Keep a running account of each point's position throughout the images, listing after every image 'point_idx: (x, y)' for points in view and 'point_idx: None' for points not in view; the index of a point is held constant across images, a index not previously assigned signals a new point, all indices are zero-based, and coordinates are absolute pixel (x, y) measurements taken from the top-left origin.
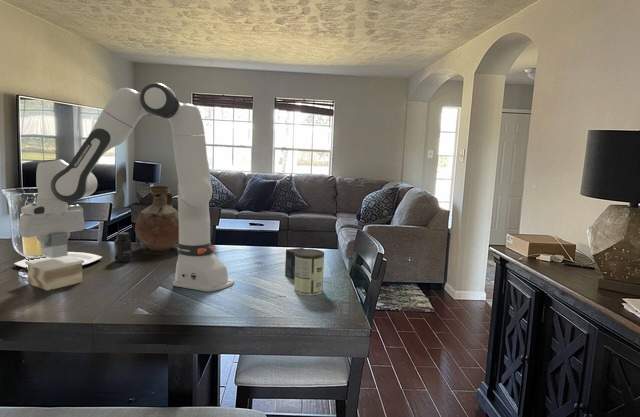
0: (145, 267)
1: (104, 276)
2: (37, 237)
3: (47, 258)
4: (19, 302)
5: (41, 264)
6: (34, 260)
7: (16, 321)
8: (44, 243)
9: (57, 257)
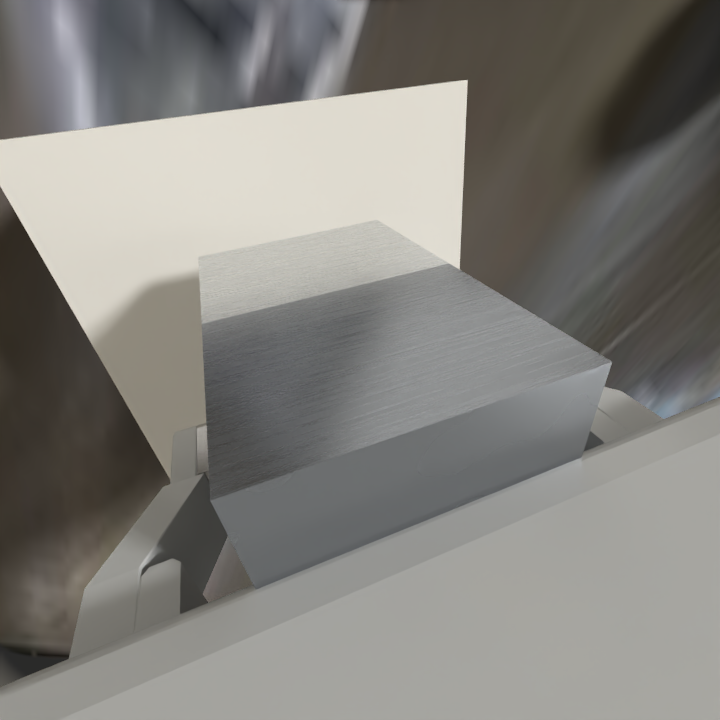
0: (681, 243)
1: (497, 283)
2: (97, 631)
3: (267, 180)
4: (36, 494)
5: (168, 400)
6: (112, 189)
7: (39, 650)
8: (217, 528)
9: (361, 203)
